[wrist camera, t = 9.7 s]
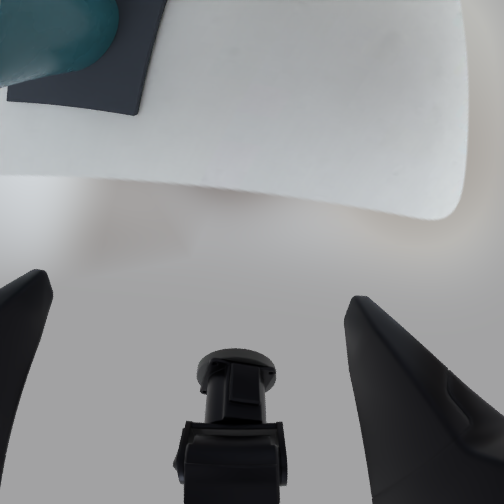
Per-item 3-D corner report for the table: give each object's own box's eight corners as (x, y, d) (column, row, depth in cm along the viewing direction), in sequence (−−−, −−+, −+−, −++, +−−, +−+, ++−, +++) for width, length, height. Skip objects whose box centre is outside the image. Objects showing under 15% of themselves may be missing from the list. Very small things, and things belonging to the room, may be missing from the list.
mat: (137, 114, 16) (134, 116, 16) (11, 99, 15) (6, 101, 14) (182, -42, 11) (180, -45, 11) (40, -37, 10) (35, -38, 9)
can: (107, 75, 14) (-15, 108, 6) (33, 70, 14) (-91, 108, 5) (131, -15, 11) (23, -62, 3) (51, -12, 11) (-70, -23, 2)
